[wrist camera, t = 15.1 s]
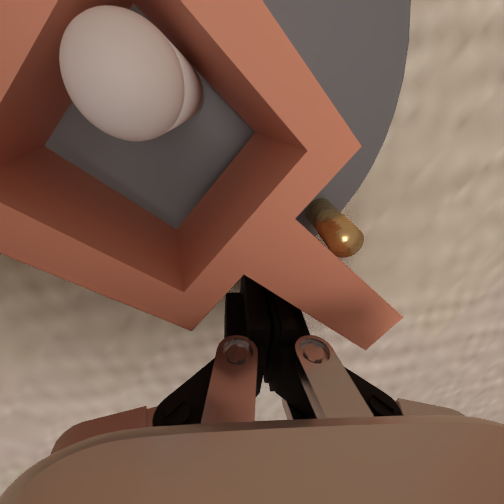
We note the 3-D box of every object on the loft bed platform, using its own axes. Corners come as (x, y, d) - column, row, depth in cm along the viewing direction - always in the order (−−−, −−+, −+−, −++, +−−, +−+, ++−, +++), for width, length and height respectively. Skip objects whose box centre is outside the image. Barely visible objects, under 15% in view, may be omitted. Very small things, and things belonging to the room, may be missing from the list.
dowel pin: (309, 197, 11) (334, 226, 9) (335, 199, 12) (368, 227, 9) (304, 223, 12) (326, 257, 9) (329, 224, 12) (358, 258, 10)
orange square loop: (-13, 149, 7) (-155, 190, 4) (117, -79, 6) (66, -288, 3) (288, 320, 15) (325, 385, 11) (377, 231, 13) (450, 276, 10)
